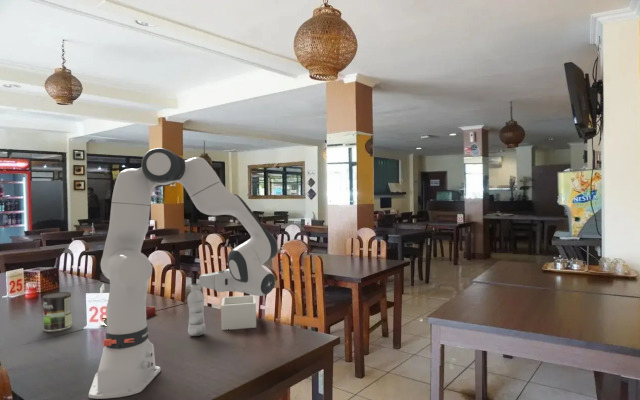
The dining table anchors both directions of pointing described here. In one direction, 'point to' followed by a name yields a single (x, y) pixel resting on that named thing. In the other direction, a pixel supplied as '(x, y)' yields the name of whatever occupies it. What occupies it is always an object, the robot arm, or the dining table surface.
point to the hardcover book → (149, 312)
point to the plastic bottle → (196, 311)
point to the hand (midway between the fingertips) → (214, 274)
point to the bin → (238, 312)
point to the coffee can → (57, 311)
